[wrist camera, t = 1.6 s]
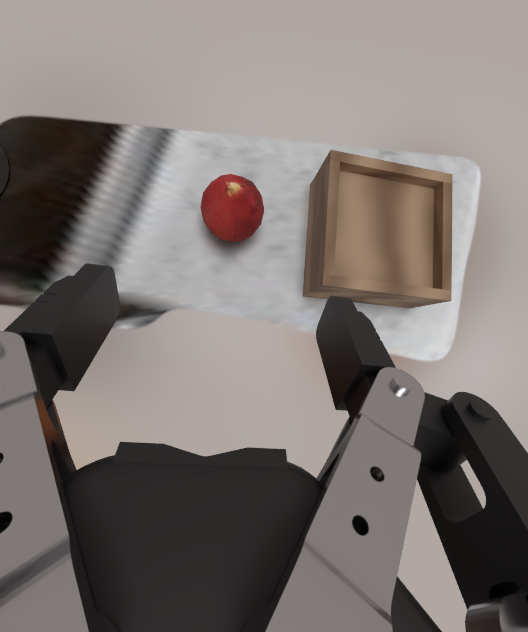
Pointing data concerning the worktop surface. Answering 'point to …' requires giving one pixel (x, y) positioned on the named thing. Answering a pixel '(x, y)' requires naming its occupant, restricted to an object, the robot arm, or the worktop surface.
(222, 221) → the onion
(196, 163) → the worktop surface
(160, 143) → the worktop surface
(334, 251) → the brown wooden box
